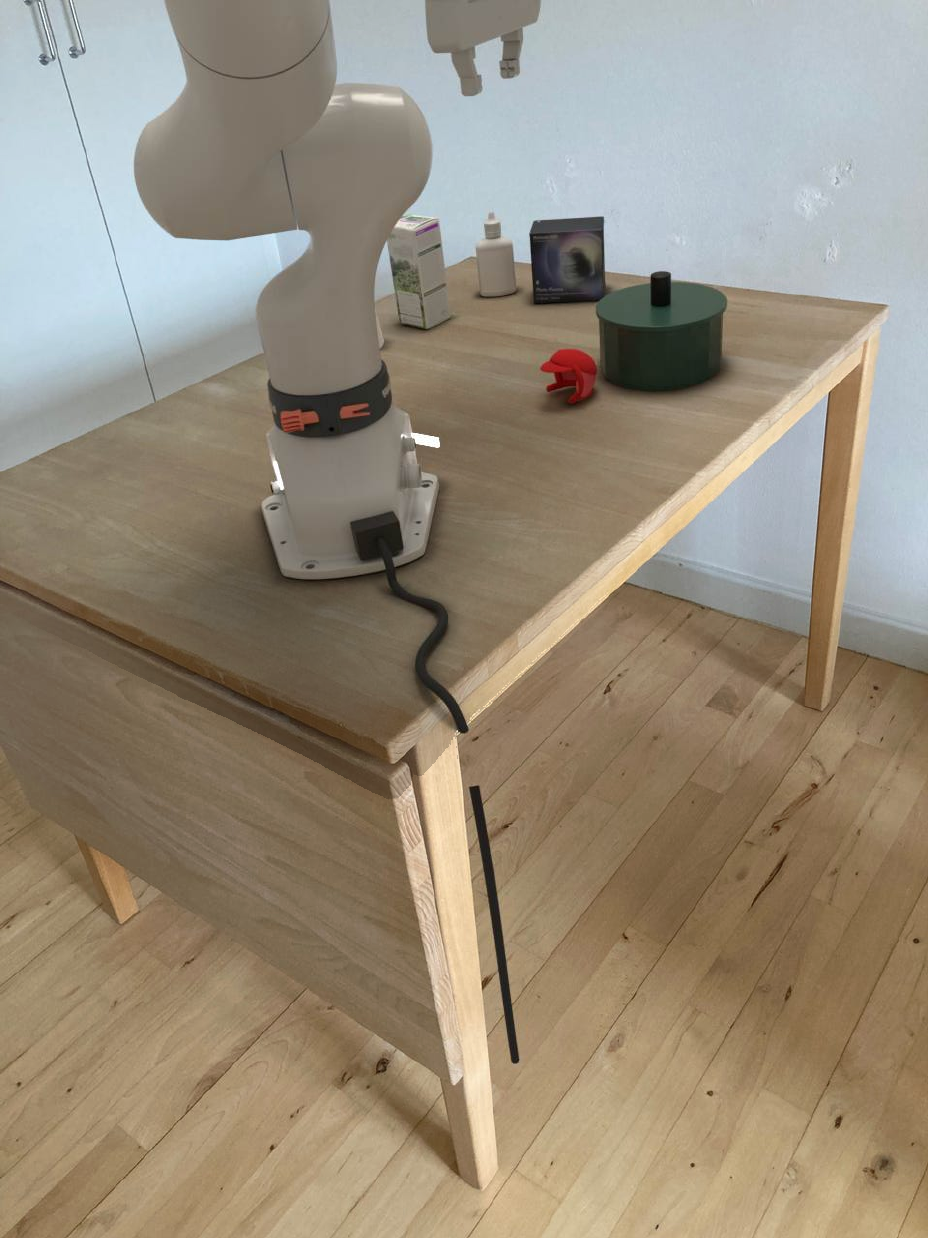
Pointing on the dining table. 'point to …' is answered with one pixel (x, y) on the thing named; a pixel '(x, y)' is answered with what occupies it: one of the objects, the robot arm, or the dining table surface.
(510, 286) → the eye dropper bottle
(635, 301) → the lid
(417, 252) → the syrup box
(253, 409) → the dining table surface
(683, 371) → the pot
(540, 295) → the small box
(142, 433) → the dining table surface
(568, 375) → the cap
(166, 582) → the dining table surface
